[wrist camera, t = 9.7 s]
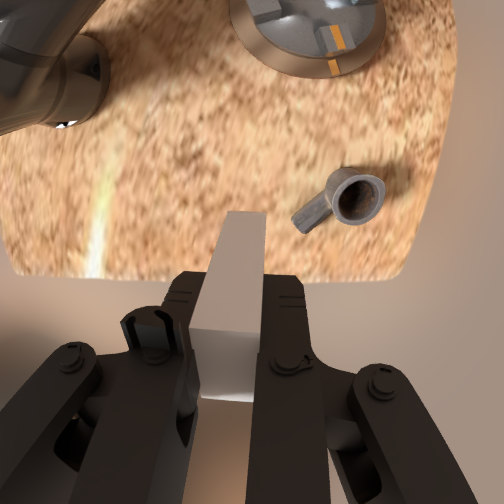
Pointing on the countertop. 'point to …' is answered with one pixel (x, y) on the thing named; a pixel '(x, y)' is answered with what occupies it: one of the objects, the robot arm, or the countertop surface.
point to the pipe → (343, 200)
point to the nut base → (298, 64)
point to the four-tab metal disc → (313, 25)
